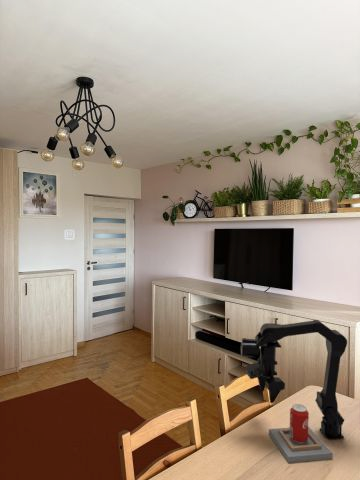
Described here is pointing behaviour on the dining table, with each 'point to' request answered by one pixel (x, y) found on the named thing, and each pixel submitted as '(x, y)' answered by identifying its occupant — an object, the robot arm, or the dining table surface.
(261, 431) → the dining table surface
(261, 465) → the dining table surface
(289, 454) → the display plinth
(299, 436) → the beverage can
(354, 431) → the dining table surface
